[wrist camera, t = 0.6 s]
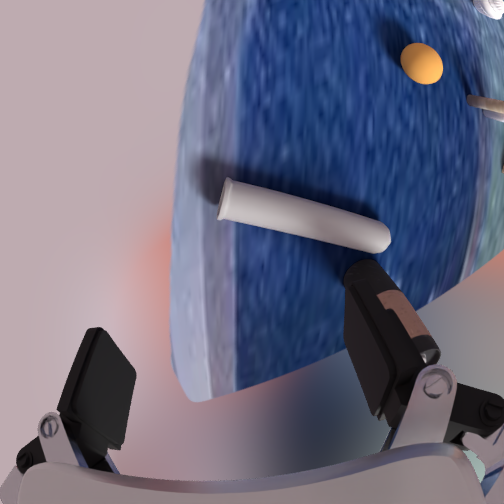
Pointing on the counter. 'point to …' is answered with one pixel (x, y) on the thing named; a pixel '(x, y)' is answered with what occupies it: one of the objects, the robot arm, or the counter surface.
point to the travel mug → (395, 305)
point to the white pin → (493, 115)
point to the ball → (421, 63)
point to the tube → (300, 217)
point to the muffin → (490, 7)
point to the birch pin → (486, 103)
